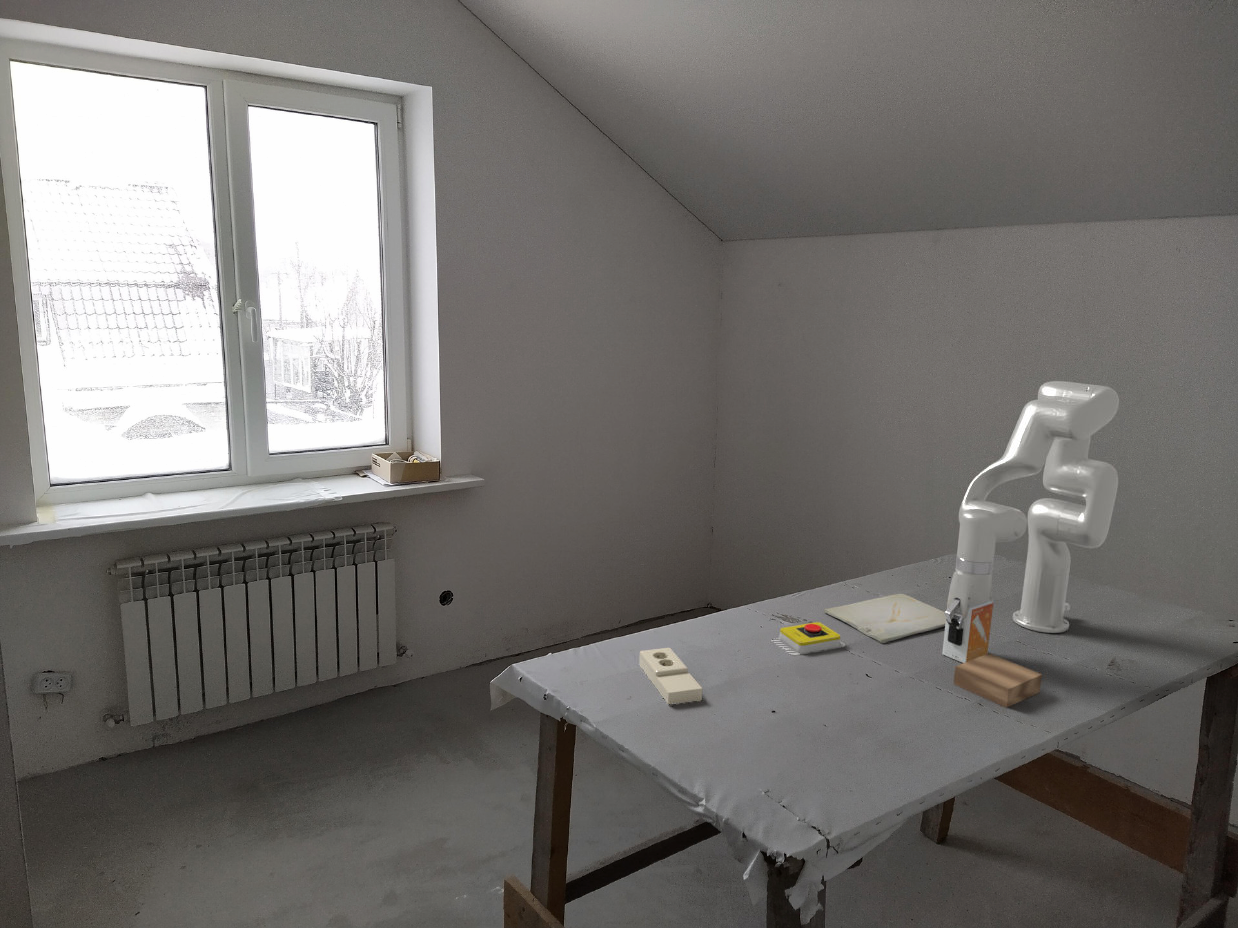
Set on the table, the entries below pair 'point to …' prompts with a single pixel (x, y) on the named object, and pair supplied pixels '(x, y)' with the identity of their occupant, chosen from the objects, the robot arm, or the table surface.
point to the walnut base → (997, 679)
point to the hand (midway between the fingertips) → (966, 638)
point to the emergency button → (808, 638)
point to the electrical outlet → (670, 676)
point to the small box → (971, 634)
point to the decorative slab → (890, 617)
